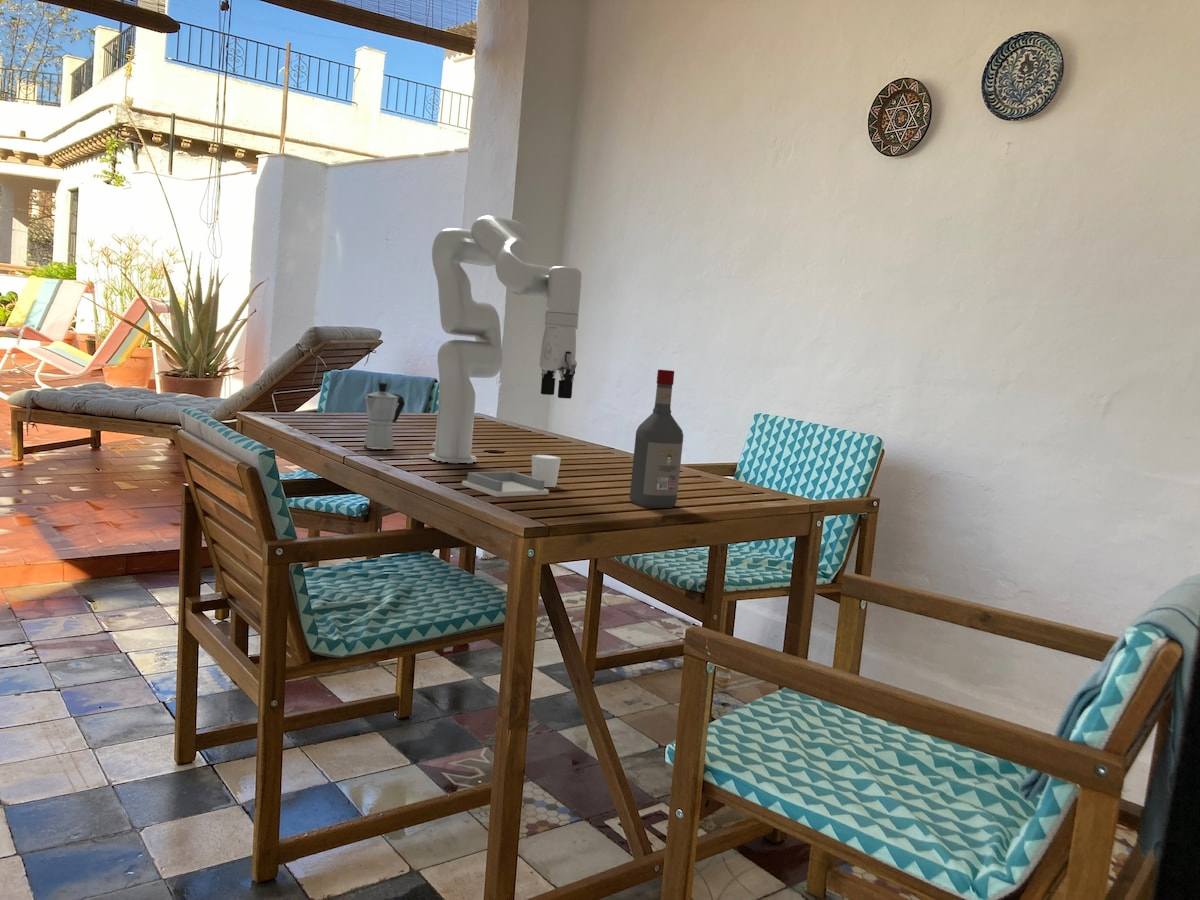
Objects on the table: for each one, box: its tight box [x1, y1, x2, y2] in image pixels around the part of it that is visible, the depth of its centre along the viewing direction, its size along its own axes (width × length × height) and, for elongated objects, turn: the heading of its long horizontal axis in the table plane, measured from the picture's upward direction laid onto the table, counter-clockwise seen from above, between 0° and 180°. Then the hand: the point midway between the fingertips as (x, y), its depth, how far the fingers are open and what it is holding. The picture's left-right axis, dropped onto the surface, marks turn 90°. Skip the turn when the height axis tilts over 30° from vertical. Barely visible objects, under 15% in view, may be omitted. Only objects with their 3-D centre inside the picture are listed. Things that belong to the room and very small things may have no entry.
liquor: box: [629, 369, 684, 509], centre depth 208 cm, size 9×9×30 cm
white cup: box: [531, 454, 562, 488], centre depth 221 cm, size 7×7×7 cm
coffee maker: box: [363, 382, 405, 448], centre depth 258 cm, size 15×9×18 cm, turn 148°
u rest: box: [461, 470, 550, 498], centre depth 211 cm, size 14×14×3 cm
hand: (555, 396), depth 216 cm, fingers open, 9 cm apart
